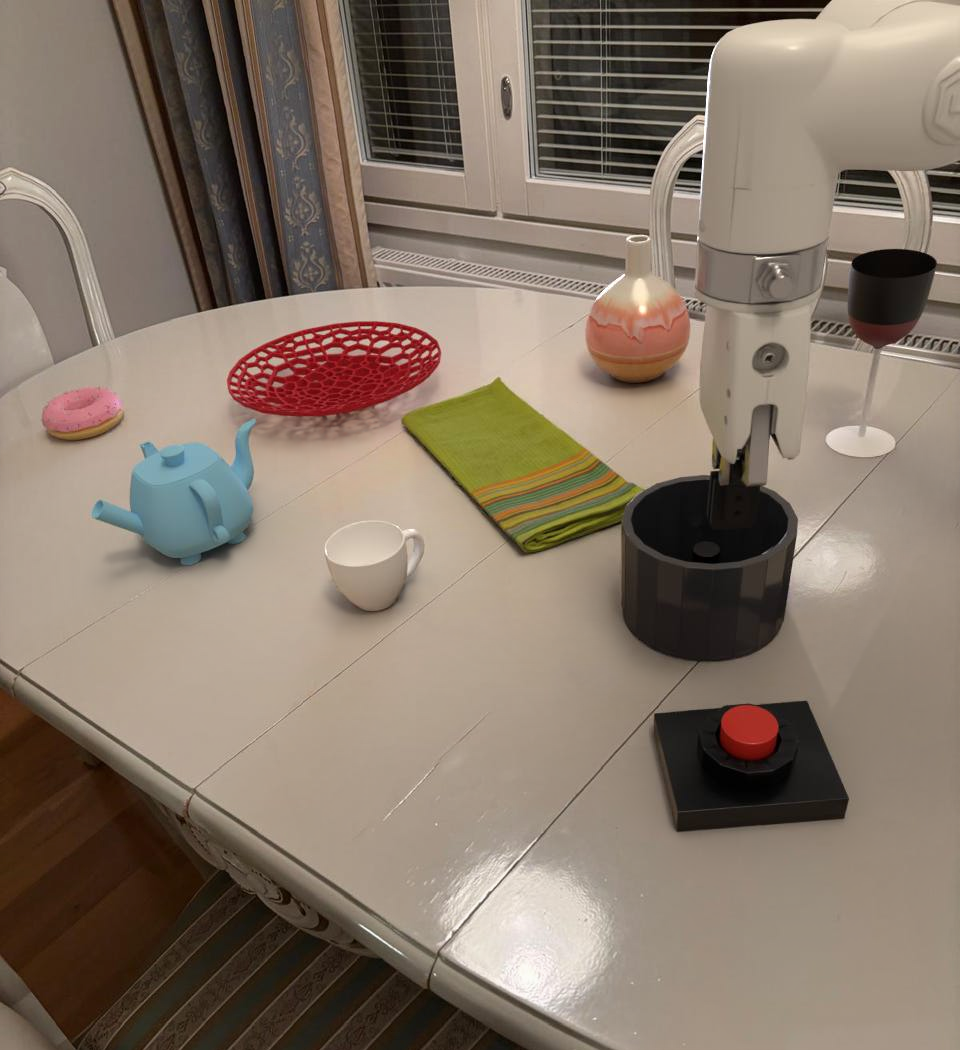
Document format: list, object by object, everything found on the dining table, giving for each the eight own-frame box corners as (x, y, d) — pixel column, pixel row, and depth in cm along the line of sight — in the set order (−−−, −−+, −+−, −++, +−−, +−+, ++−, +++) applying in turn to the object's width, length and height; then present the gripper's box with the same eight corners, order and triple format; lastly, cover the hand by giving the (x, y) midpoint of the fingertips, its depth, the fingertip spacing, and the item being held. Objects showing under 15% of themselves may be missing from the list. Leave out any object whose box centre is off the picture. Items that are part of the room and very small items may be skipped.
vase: (605, 403, 119) (604, 264, 107) (573, 363, 129) (569, 232, 118) (704, 383, 120) (713, 244, 109) (664, 345, 131) (669, 215, 119)
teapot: (172, 502, 110) (141, 415, 103) (280, 502, 107) (255, 413, 100) (114, 578, 99) (74, 487, 91) (233, 580, 96) (202, 487, 89)
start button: (767, 718, 69) (770, 702, 68) (782, 758, 66) (785, 741, 65) (714, 723, 69) (715, 706, 68) (726, 763, 66) (728, 746, 65)
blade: (752, 590, 86) (759, 533, 81) (761, 611, 83) (768, 553, 79) (645, 600, 86) (646, 543, 82) (650, 621, 84) (652, 564, 79)
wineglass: (812, 450, 105) (839, 273, 92) (838, 418, 110) (866, 245, 97) (884, 465, 101) (923, 282, 88) (907, 431, 106) (947, 253, 93)
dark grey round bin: (760, 557, 90) (771, 468, 84) (804, 654, 79) (820, 559, 73) (612, 571, 91) (612, 483, 84) (634, 669, 80) (636, 576, 73)
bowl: (365, 465, 112) (358, 427, 109) (191, 427, 125) (180, 393, 122) (483, 367, 131) (480, 333, 128) (321, 344, 144) (315, 312, 140)
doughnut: (126, 401, 134) (116, 375, 131) (128, 433, 126) (117, 405, 123) (50, 418, 132) (38, 391, 129) (46, 452, 124) (33, 424, 121)
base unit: (803, 719, 73) (810, 683, 71) (844, 818, 65) (853, 781, 63) (653, 732, 74) (654, 696, 71) (676, 831, 66) (678, 795, 63)
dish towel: (524, 560, 94) (522, 534, 92) (399, 426, 119) (395, 403, 117) (652, 514, 98) (652, 488, 96) (504, 395, 123) (502, 372, 121)
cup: (324, 596, 92) (309, 541, 88) (408, 557, 96) (398, 502, 92) (361, 633, 87) (347, 576, 83) (448, 590, 91) (440, 534, 87)
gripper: (861, 306, 50) (810, 579, 61) (788, 225, 61) (757, 468, 73) (721, 317, 50) (698, 587, 62) (675, 235, 61) (662, 475, 73)
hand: (730, 522), depth 67 cm, fingers closed
